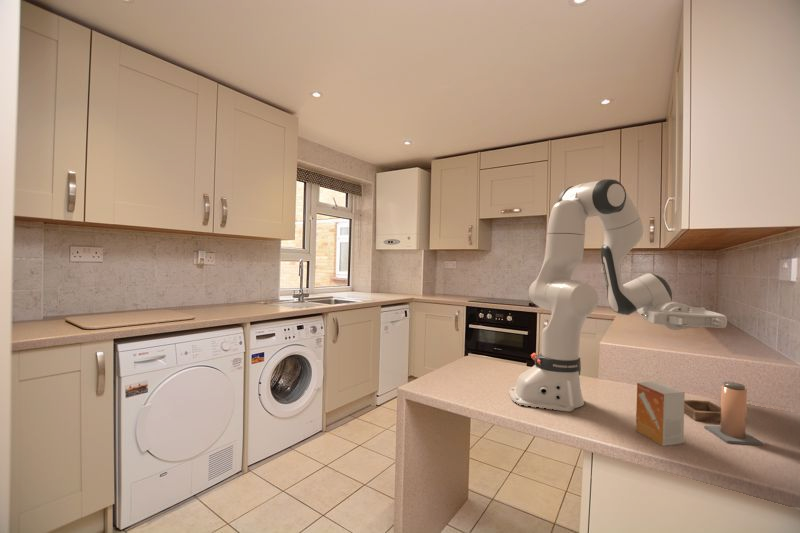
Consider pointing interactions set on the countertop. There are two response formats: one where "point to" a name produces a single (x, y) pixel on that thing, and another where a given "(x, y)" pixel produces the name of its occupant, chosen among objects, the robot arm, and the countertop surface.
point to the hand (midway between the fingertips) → (702, 323)
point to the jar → (733, 409)
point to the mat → (728, 439)
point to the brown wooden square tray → (709, 415)
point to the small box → (660, 412)
